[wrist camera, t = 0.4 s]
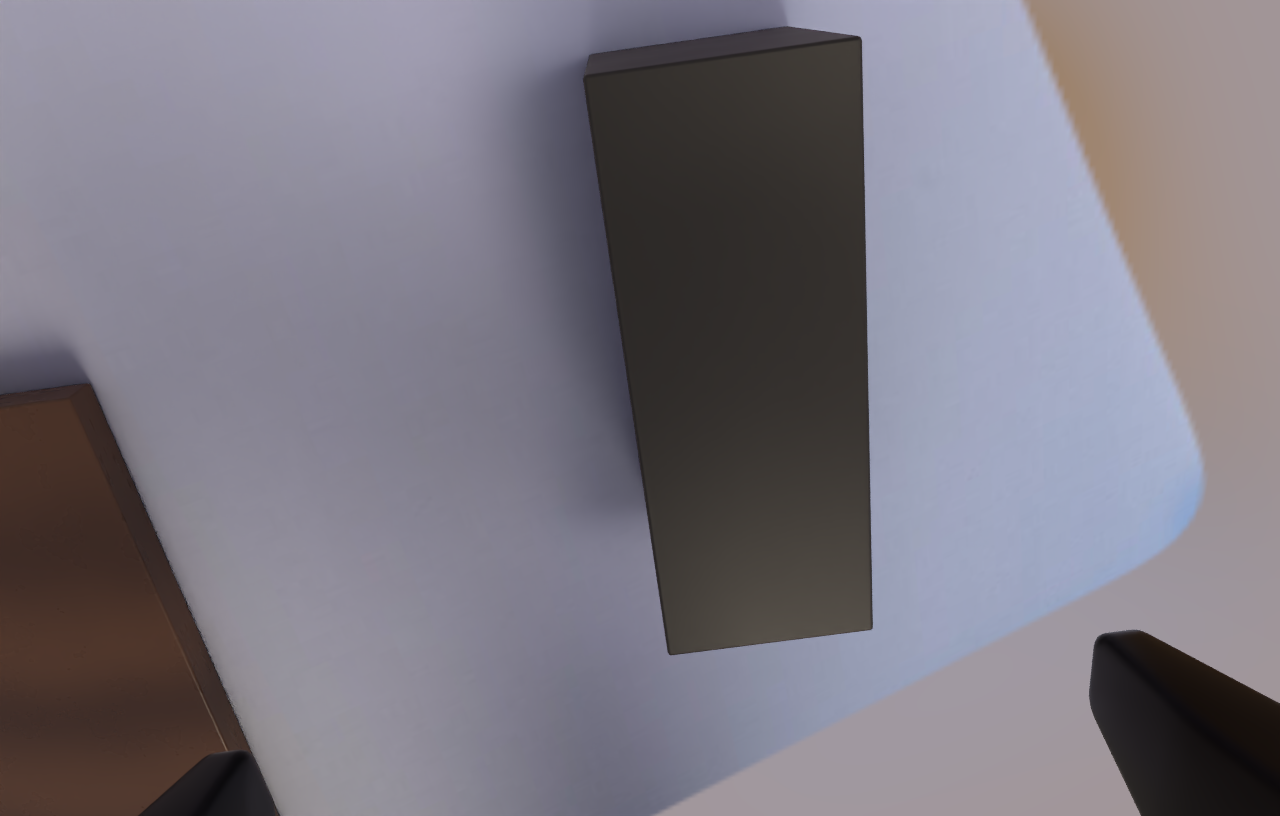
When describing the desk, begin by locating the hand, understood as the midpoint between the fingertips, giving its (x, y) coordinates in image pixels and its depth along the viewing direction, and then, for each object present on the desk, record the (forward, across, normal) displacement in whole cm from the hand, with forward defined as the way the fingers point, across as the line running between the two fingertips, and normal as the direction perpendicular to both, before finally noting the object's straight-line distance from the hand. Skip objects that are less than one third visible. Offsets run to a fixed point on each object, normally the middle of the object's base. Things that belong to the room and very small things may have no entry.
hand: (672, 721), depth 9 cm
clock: (+14, -2, 0) cm, 14 cm away
